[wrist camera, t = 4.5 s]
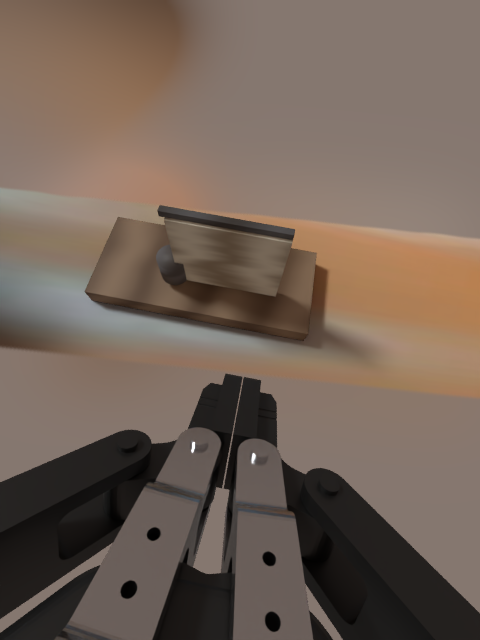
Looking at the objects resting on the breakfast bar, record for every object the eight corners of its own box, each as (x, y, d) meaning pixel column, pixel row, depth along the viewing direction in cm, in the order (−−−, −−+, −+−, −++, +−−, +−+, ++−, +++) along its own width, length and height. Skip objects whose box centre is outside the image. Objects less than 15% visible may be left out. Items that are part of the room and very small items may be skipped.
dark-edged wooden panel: (158, 282, 33) (134, 219, 24) (165, 259, 34) (146, 191, 26) (274, 304, 33) (292, 247, 24) (278, 279, 34) (296, 217, 25)
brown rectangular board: (91, 300, 35) (83, 289, 33) (123, 228, 39) (116, 214, 37) (303, 340, 34) (309, 332, 32) (312, 262, 39) (317, 250, 36)
